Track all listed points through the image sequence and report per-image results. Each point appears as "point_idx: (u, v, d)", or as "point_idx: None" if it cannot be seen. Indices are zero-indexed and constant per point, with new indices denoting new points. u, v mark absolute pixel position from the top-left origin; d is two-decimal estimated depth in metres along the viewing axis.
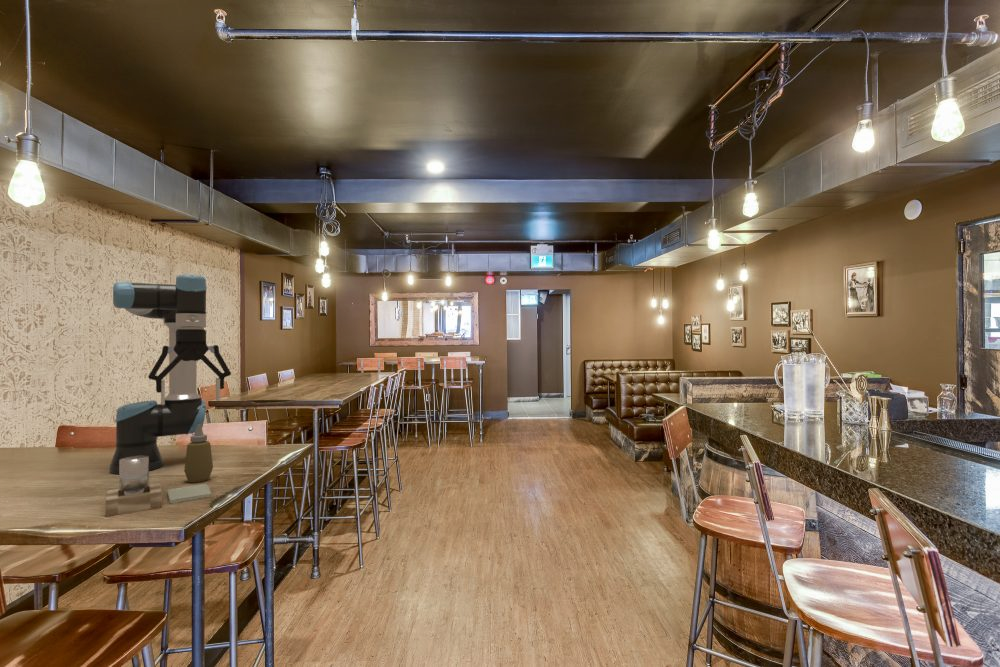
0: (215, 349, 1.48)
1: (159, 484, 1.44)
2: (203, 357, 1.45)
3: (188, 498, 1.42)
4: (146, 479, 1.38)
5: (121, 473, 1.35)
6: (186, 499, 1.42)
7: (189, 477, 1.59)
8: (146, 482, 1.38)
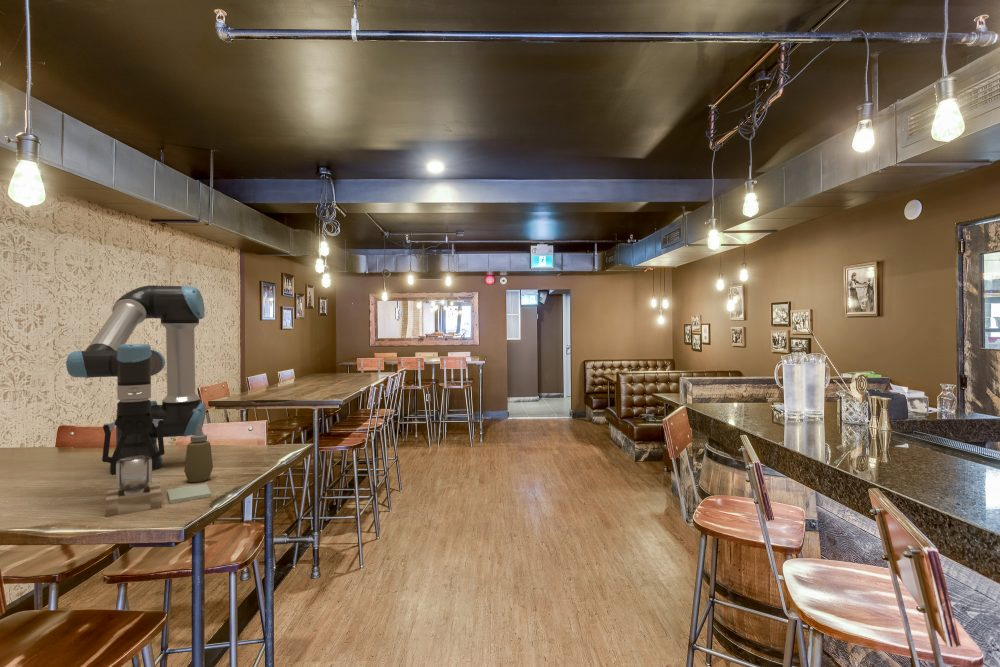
0: (159, 424, 1.40)
1: (159, 484, 1.44)
2: (143, 432, 1.38)
3: (188, 498, 1.42)
4: (146, 479, 1.38)
5: (121, 473, 1.35)
6: (186, 499, 1.42)
7: (189, 477, 1.59)
8: (146, 482, 1.38)
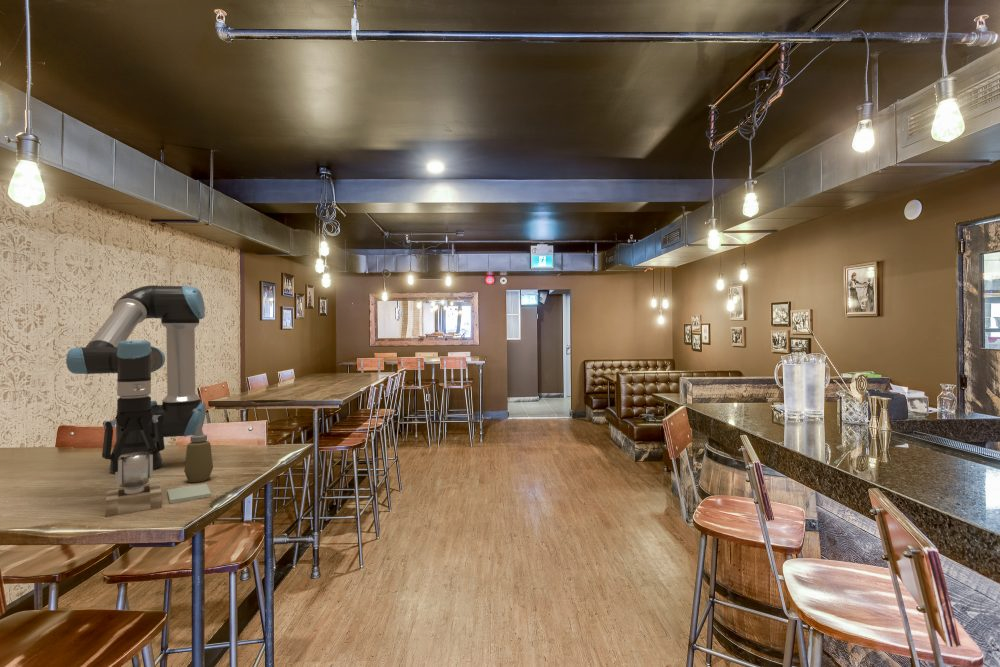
0: (159, 420, 1.42)
1: (159, 484, 1.44)
2: (145, 428, 1.39)
3: (188, 498, 1.42)
4: (148, 474, 1.39)
5: (124, 469, 1.35)
6: (186, 499, 1.42)
7: (189, 477, 1.59)
8: (148, 477, 1.39)
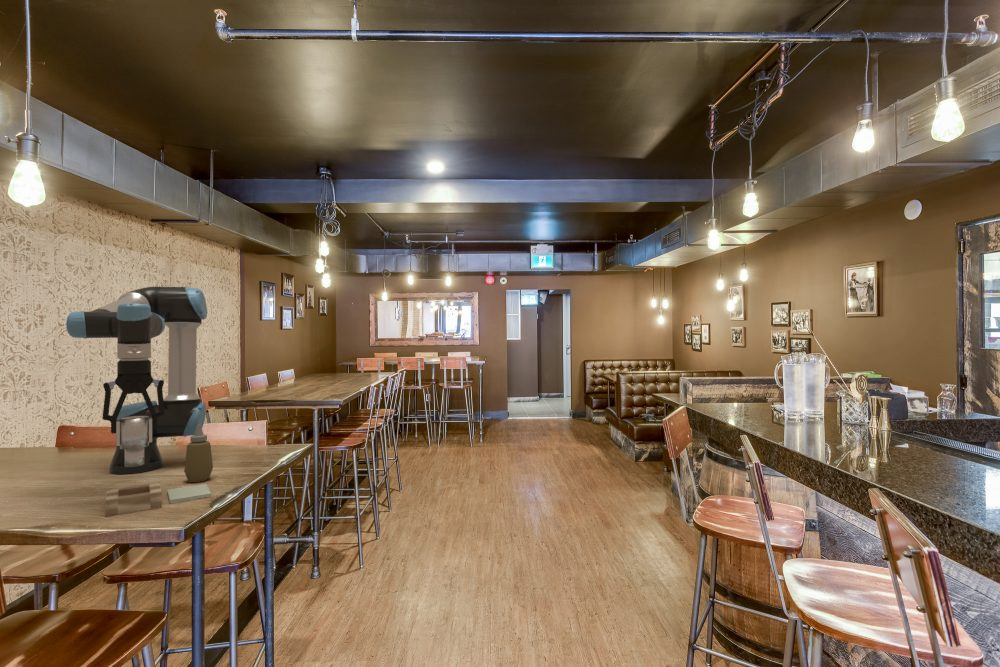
0: (159, 384, 1.40)
1: (159, 484, 1.44)
2: (143, 391, 1.38)
3: (188, 498, 1.42)
4: (146, 438, 1.38)
5: (121, 432, 1.35)
6: (186, 499, 1.42)
7: (189, 477, 1.59)
8: (146, 441, 1.38)
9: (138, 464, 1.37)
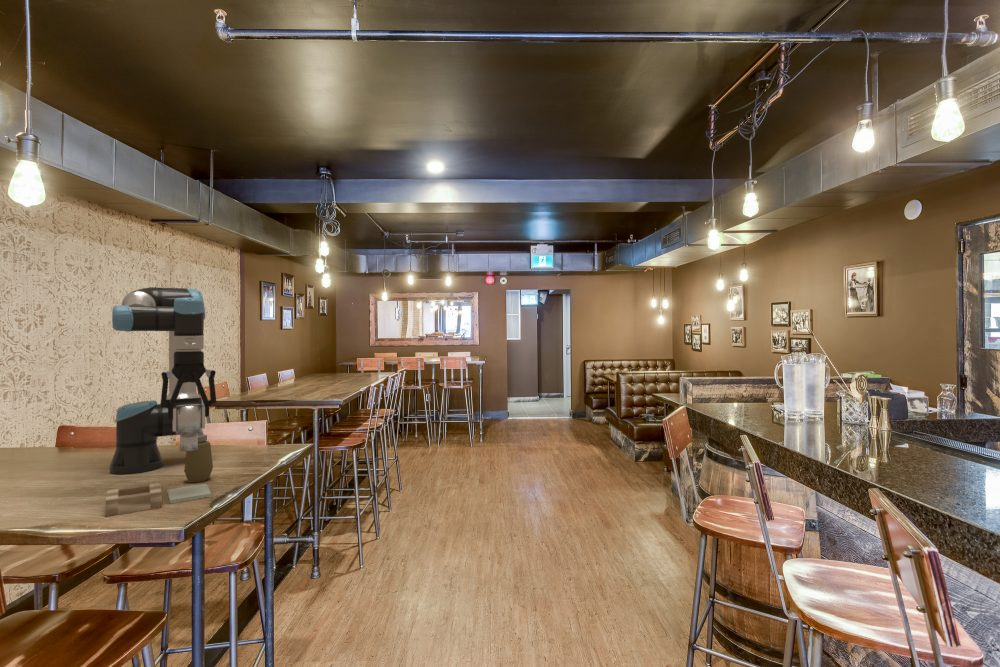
0: (211, 374, 1.50)
1: (159, 484, 1.44)
2: (197, 380, 1.47)
3: (188, 498, 1.42)
4: (200, 425, 1.47)
5: (178, 418, 1.44)
6: (186, 499, 1.42)
7: (189, 477, 1.59)
8: (200, 427, 1.47)
9: (193, 449, 1.46)
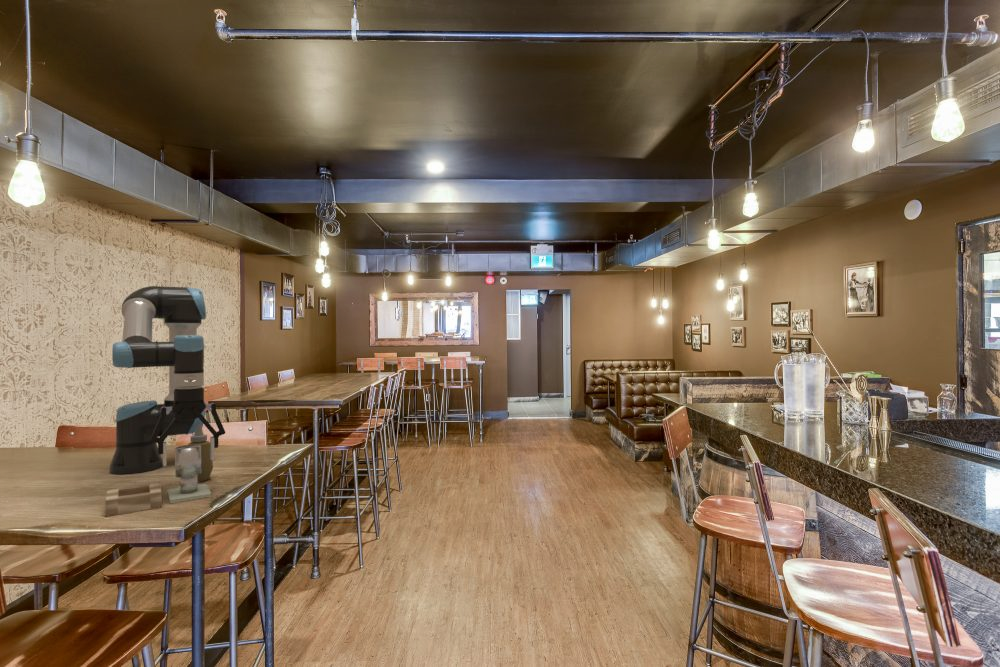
0: (212, 408, 1.50)
1: (159, 484, 1.44)
2: (200, 416, 1.47)
3: (188, 498, 1.42)
4: (199, 466, 1.47)
5: (177, 461, 1.44)
6: (186, 499, 1.42)
7: None
8: (199, 469, 1.47)
9: (193, 490, 1.46)
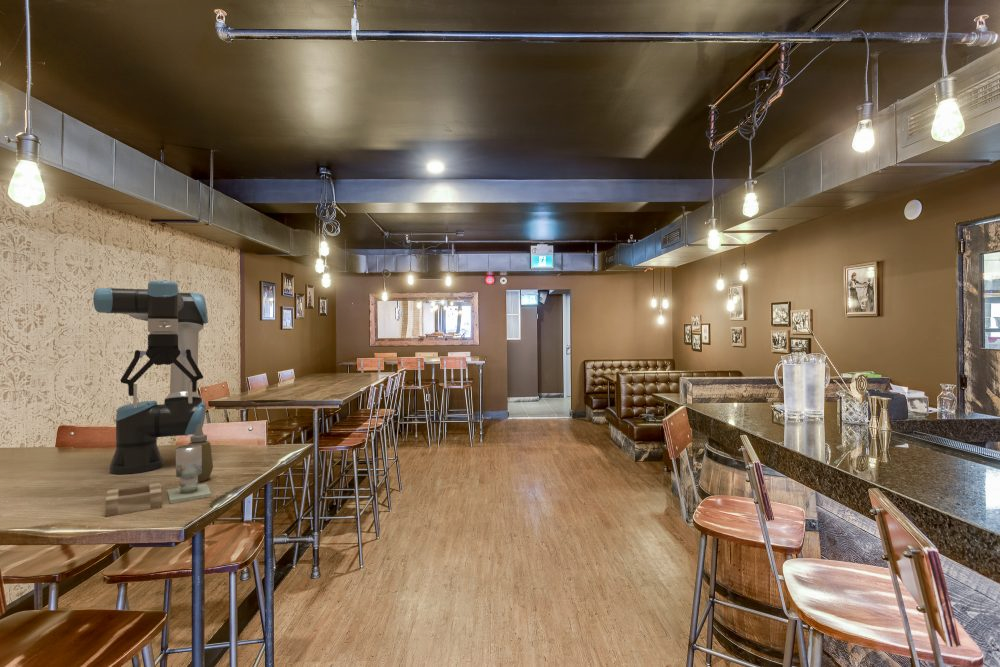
0: (187, 353, 1.51)
1: (159, 484, 1.44)
2: (175, 361, 1.49)
3: (188, 498, 1.42)
4: (200, 466, 1.47)
5: (178, 461, 1.44)
6: (186, 499, 1.42)
7: None
8: (200, 469, 1.47)
9: (193, 491, 1.46)
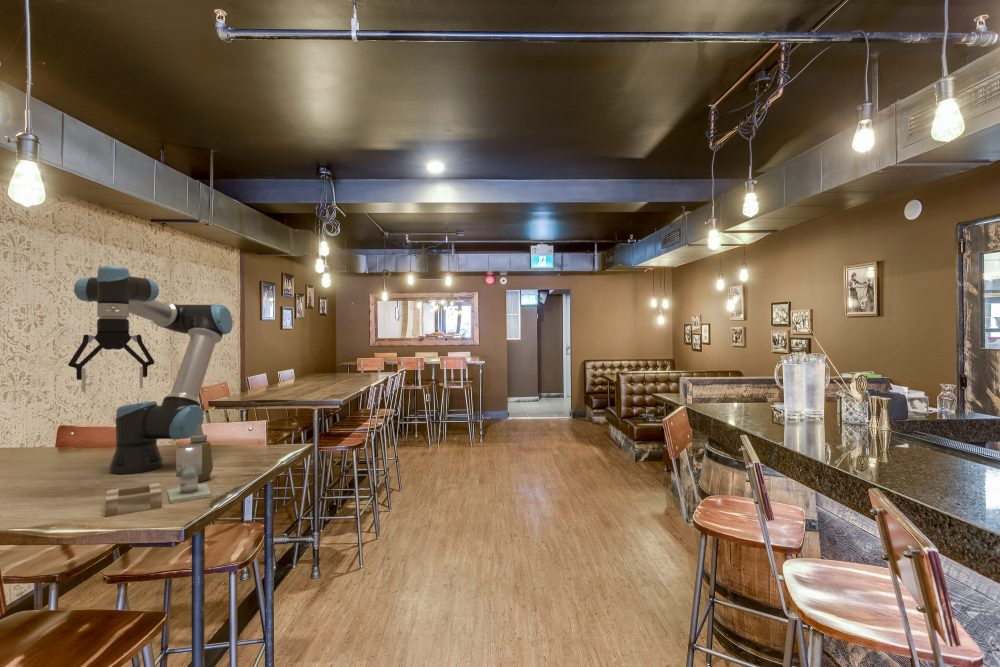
0: (138, 338, 1.52)
1: (159, 484, 1.44)
2: (125, 346, 1.50)
3: (188, 498, 1.42)
4: (200, 466, 1.47)
5: (178, 460, 1.44)
6: (186, 499, 1.42)
7: None
8: (200, 469, 1.47)
9: (193, 491, 1.46)
